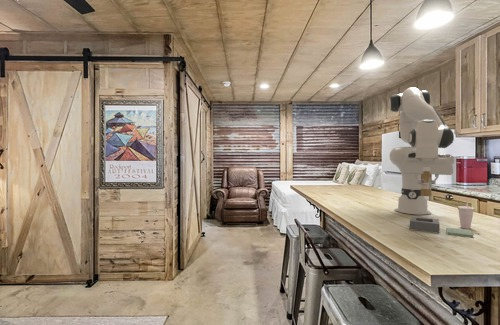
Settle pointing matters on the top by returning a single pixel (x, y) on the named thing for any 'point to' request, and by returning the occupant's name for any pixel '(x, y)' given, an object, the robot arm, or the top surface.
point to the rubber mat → (459, 232)
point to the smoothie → (465, 216)
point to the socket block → (424, 224)
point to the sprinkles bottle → (426, 182)
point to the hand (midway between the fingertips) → (426, 184)
